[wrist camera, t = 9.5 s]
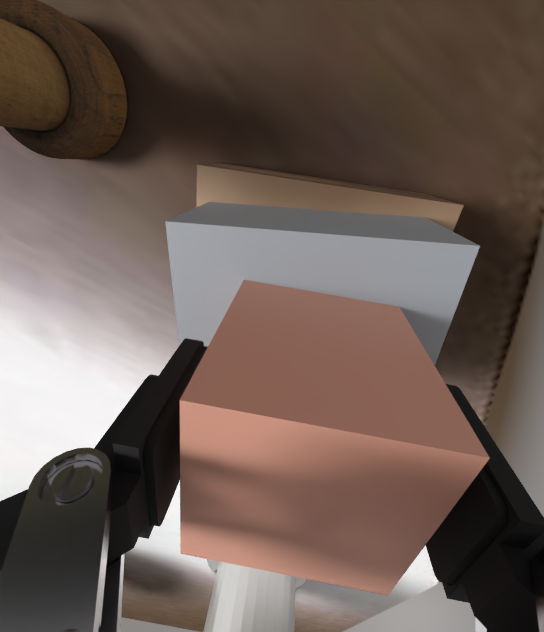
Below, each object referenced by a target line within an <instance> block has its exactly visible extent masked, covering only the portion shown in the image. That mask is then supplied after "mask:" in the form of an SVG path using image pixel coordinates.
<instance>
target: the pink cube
mask: <svg viewBox="0 0 544 632" xmlns="http://www.w3.org/2000/svg"><path fill="white" fill-rule="evenodd" d="M489 459H490V457H489V456H488V454H487V452H486V451H485V449H484V447H483V446H482V444H481V442H480V441H479V439H478V437H477V436H476V434H475V432H474V431H473V429H472V427H471V426H470V424H469V422H468V421H467V419H466V417H465V416H464V414H463V412H462V411H461V409H460V407H459V406H458V404H457V402H456V401H455V399H454V397H453V396H452V394H451V392H450V391H449V389H448V387H447V386H446V384H445V382H444V381H443V379H442V377H441V376H440V374H439V372H438V371H437V369H436V367H435V366H434V364H433V362H432V361H431V359H430V357H429V356H428V354H427V352H426V351H425V349H424V347H423V346H422V344H421V342H420V341H419V339H418V337H417V336H416V334H415V332H414V331H413V329H412V327H411V325H410V324H409V322H408V320H407V319H406V317H405V315H404V314H403V312H402V310H401V309H400V307H398V306H392V305H386V304H380V303H375V302H369V301H363V300H357V299H352V298H346V297H340V296H334V295H329V294H323V293H317V292H311V291H306V290H300V289H294V288H288V287H283V286H277V285H271V284H265V283H259V282H254V281H248V280H243V282H242V284H241V286H240V288H239V290H238V292H237V293H236V295H235V297H234V299H233V301H232V303H231V305H230V307H229V308H228V310H227V312H226V314H225V316H224V318H223V320H222V322H221V323H220V325H219V327H218V329H217V331H216V333H215V335H214V337H213V338H212V340H211V342H210V344H209V346H208V348H207V350H206V352H205V353H204V355H203V357H202V359H201V361H200V363H199V365H198V367H197V368H196V370H195V372H194V374H193V376H192V378H191V380H190V382H189V384H188V385H187V387H186V389H185V391H184V393H183V395H182V397H181V399H180V516H181V554H186V555H191V556H196V557H200V558H205V559H210V560H215V561H220V562H225V563H230V564H235V565H240V566H245V567H250V568H255V569H260V570H265V571H270V572H275V573H280V574H284V575H289V576H294V577H299V578H304V579H309V580H314V581H319V582H324V583H329V584H334V585H339V586H344V587H349V588H354V589H359V590H364V591H368V592H373V593H378V594H383V595H389V593H390V592H391V591H392V589H393V588H394V587H395V585H396V584H397V582H398V581H399V580H400V578H401V577H402V576H403V574H404V573H405V572H406V570H407V569H408V568H409V566H410V565H411V564H412V562H413V561H414V560H415V558H416V557H417V556H418V554H419V553H420V552H421V550H422V549H423V547H424V546H425V545H426V543H427V542H428V541H429V539H430V538H431V537H432V535H433V534H434V533H435V531H436V530H437V529H438V527H439V526H440V525H441V523H442V522H443V521H444V519H445V518H446V517H447V515H448V514H449V512H450V511H451V510H452V508H453V507H454V506H455V504H456V503H457V502H458V500H459V499H460V498H461V496H462V495H463V494H464V492H465V491H466V490H467V488H468V487H469V486H470V484H471V483H472V482H473V480H474V479H475V478H476V476H477V475H478V473H479V472H480V471H481V469H482V468H483V467H484V465H485V464H486V463H487V461H488V460H489Z"/></svg>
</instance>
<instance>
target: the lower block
mask: <svg viewBox="0 0 544 632" xmlns="http://www.w3.org/2000/svg"><path fill="white" fill-rule="evenodd" d="M208 202H221V203H235V204H249V205H263V206H276V207H290V208H304V209H318V210H332V211H345V212H359V213H373V214H387V215H400V216H414V217H426V218H428V219H430V220H432V221H433V222H435V223H437V224H439V225H441V226H443V227H445V228H447V229H449V230H451V231H453V230H454V228H455V225H456V223H457V221H458V218H459V216H460V213H461V211H462V208H463V206H464V205H461V204H458V203H455V202H452V201H449V200H445V199H442V198H439V197H436V196H433V195H430V194H424V193H418V192H411V191H405V190H398V189H391V188H385V187H378V186H372V185H365V184H358V183H352V182H345V181H339V180H332V179H326V178H319V177H312V176H306V175H299V174H293V173H286V172H279V171H273V170H266V169H260V168H253V167H247V166H240V165H233V164H227V163H213V164H199V165H197V207H199V206H201V205H203V204H205V203H208Z"/></svg>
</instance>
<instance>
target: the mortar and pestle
mask: <svg viewBox="0 0 544 632" xmlns="http://www.w3.org/2000/svg"><path fill="white" fill-rule="evenodd" d="M126 117H127V96H126V90H125V85H124V81H123V78H122V75H121V73H120V70H119V68H118V66H117V63H116V61H115V60H114V58H113V56H112V54H111V53H110V51H109V50H108V48H107V47H106V46H105V44H104V43H103V42H102V41H101V40H100V39H99V38H98V37H97V36H96V35H95V34H94V33H93V32H92V31H90V30H89V29H88V28H87V27H85V26H84V25H82V24H81V23H79V22H77V21H76V20H74V19H72V18H70V17H68V16H66V15H64V14H63V13H61V12H59V11H58V10H56V9H54V8H53V7H51V6H49V5H47V4H45V3H43V2H40V1H37V0H0V126H3V127H4V128H5V129H6V130H7V131H8V132H9V133H10V134H11V135H12V136H13V137H14V138H15V139H16V140H17V141H19V142H20V143H21V144H23V145H24V146H26V147H27V148H29V149H30V150H32V151H34V152H36V153H38V154H41V155H44V156H47V157H51V158H58V159H91V158H95V157H98V156H101V155H103V154H105V153H106V152H108V151H109V150H110V149H111V148H112V147H113V146H114V145H115V144H116V143H117V141H118V140H119V138H120V136H121V134H122V132H123V129H124V126H125V122H126Z"/></svg>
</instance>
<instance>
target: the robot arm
mask: <svg viewBox="0 0 544 632" xmlns="http://www.w3.org/2000/svg"><path fill="white" fill-rule="evenodd" d="M207 348H208V347H207V346H204V342H203V341H199V340H193V339H188V338H185V339H184V340H183V341H182V343H181V344H180V346H179V347H178V349H177V350H176V352H175V353H174V354H173V356H172V357H171V359H170V360H169V362H168V363H167V365H166V366H165V368H164V369H163V370H162V372H161V373H160V375H159V376H156V375H149V376H148V377H147V378H146V379H145V380H144V382H143V383H142V384H141V386H140V387H139V389H138V390H137V391H136V393H135V394H134V395H133V397H132V398H131V399H130V401H129V402H128V403H127V405H126V406H125V407H124V409H123V410H122V412H121V413H120V414H119V416H118V417H117V418H116V420H115V421H114V422H113V424H112V425H111V426H110V428H109V429H108V430H107V432H106V433H105V435H104V436H103V437H102V439H101V440H100V441H99V443H98V444H97V445H96V447H95V448H94V449H93V448H77V449H74V450H70V451H67V452H65V453H63V454H61V455H59V456H56V457H54V458H53V459H52V460H50V461H49V462H48V463H46V464H45V465H44V466H43V467H42V468H41V469H40V470H39V471H38V472H37V474H36V475H35V476H34V478H33V480H32V482H31V484H30V486H29V489H28V490H25V491H23V492H21V493H18V494H16V495H14V496H12V497H9V498H7V499H5V500H2V501H0V632H120V627H121V626H120V625H121V608H122V589H123V571H124V554H125V553H126V552H128V551H129V550H131V549H133V548H134V546H135V544H136V542H137V539H138V537H143V538H149V536H150V534H151V531H152V529H153V527H154V525H155V526H160V525H161V524H162V522H163V520H164V517H165V515H166V512H167V510H168V507H169V505H170V502H171V500H172V498H173V495H174V493H175V490H176V488H177V485H178V483H179V480H180V399H181V397H182V395H183V393H184V391H185V389H186V387H187V385H188V384H189V382H190V380H191V378H192V376H193V374H194V372H195V370H196V368H197V367H198V365H199V363H200V361H201V359H202V357H203V355H204V353H205V352H206V350H207ZM446 386H447V387H448V389H449V391H450V392H451V394H452V396H453V397H454V399H455V401H456V402H457V404H458V406H459V407H460V409H461V411H462V412H463V414H464V416H465V417H466V419H467V421H468V422H469V424H470V426H471V427H472V429H473V431H474V432H475V434H476V436H477V437H478V439H479V441H480V442H481V444H482V446H483V447H484V449H485V451H486V452H487V454H488V456H489V457H490V459H489V460H488V461H487V463H486V464H485V465H484V467H483V468H482V469H481V471H480V472H479V473H478V475H477V476H476V478H475V479H474V480H473V482H472V483H471V484H470V486H469V487H468V488H467V490H466V491H465V492H464V494H463V495H462V496H461V498H460V499H459V500H458V502H457V503H456V504H455V506H454V507H453V508H452V510H451V511H450V512H449V514H448V515H447V517H446V518H445V519H444V521H443V522H442V523H441V525H440V526H439V527H438V529H437V530H436V531H435V533H434V534H433V535H432V537H431V538H430V539H429V541H428V542H427V543H426V547H427V551H428V554H429V557H430V561H431V564H432V567H433V571H434V573H435V576H436V578H437V580H438V581H439V582H442V583H443V586H444V590H445V593H446V596H447V598H448V599H453V600H458V601H463V602H468V603H470V605H471V608H472V610H473V613H474V616H475V632H544V517H543V516H542V514H541V513H540V511H539V510H538V508H537V507H536V505H535V504H534V502H533V501H532V499H531V498H530V496H529V494H528V493H527V491H526V490H525V488H524V487H523V485H522V484H521V482H520V481H519V479H518V478H517V476H516V474H515V473H514V471H513V470H512V468H511V467H510V465H509V464H508V462H507V461H506V459H505V457H504V456H503V454H502V453H501V451H500V450H499V448H498V447H497V446H496V444H495V442H494V441H493V439H492V438H491V436H490V434H489V433H488V431H487V430H486V428H485V427H484V425H483V424H482V422H481V421H480V419H479V418H478V416H477V414H476V413H475V411H474V410H473V408H472V407H471V405H470V404H469V402H468V401H467V399H466V398H465V396H464V394H463V393H462V391H461V390H460V389H459V388H458V387H457V386H453V385H448V384H446ZM207 561H208V565H209V567H210V568H211V570H212V571H213V572H214V573H215V574H216V578H215V583H214V587H213V592H212V596H211V601H210V605H209V610H208V614H207V618H206V623H205V627H204V632H294V624H295V593H296V589H297V588H299V587H301V586H302V585H303V584H304V583H305V582H306V581H307V579H304V578H299V577H294V576H289V575H284V574H280V573H275V572H270V571H265V570H260V569H255V568H250V567H245V566H240V565H235V564H230V563H225V562H220V561H215V560H210V559H207Z"/></svg>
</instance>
